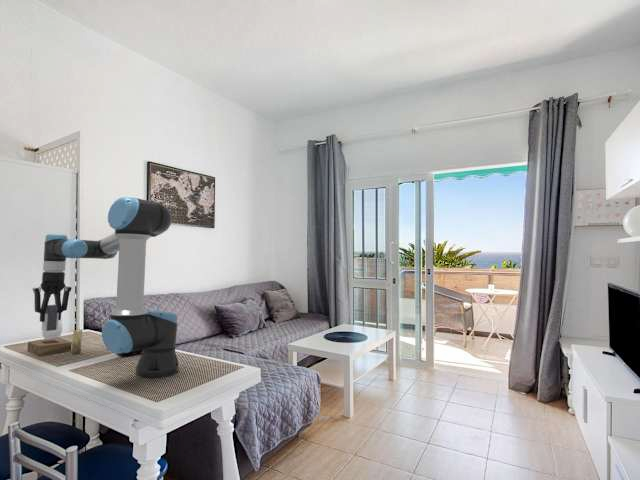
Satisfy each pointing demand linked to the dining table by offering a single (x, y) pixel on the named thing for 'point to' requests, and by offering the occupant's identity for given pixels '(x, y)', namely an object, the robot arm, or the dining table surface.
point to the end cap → (131, 352)
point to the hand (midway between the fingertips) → (49, 329)
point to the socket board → (49, 346)
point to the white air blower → (53, 332)
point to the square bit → (51, 317)
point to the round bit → (77, 342)
